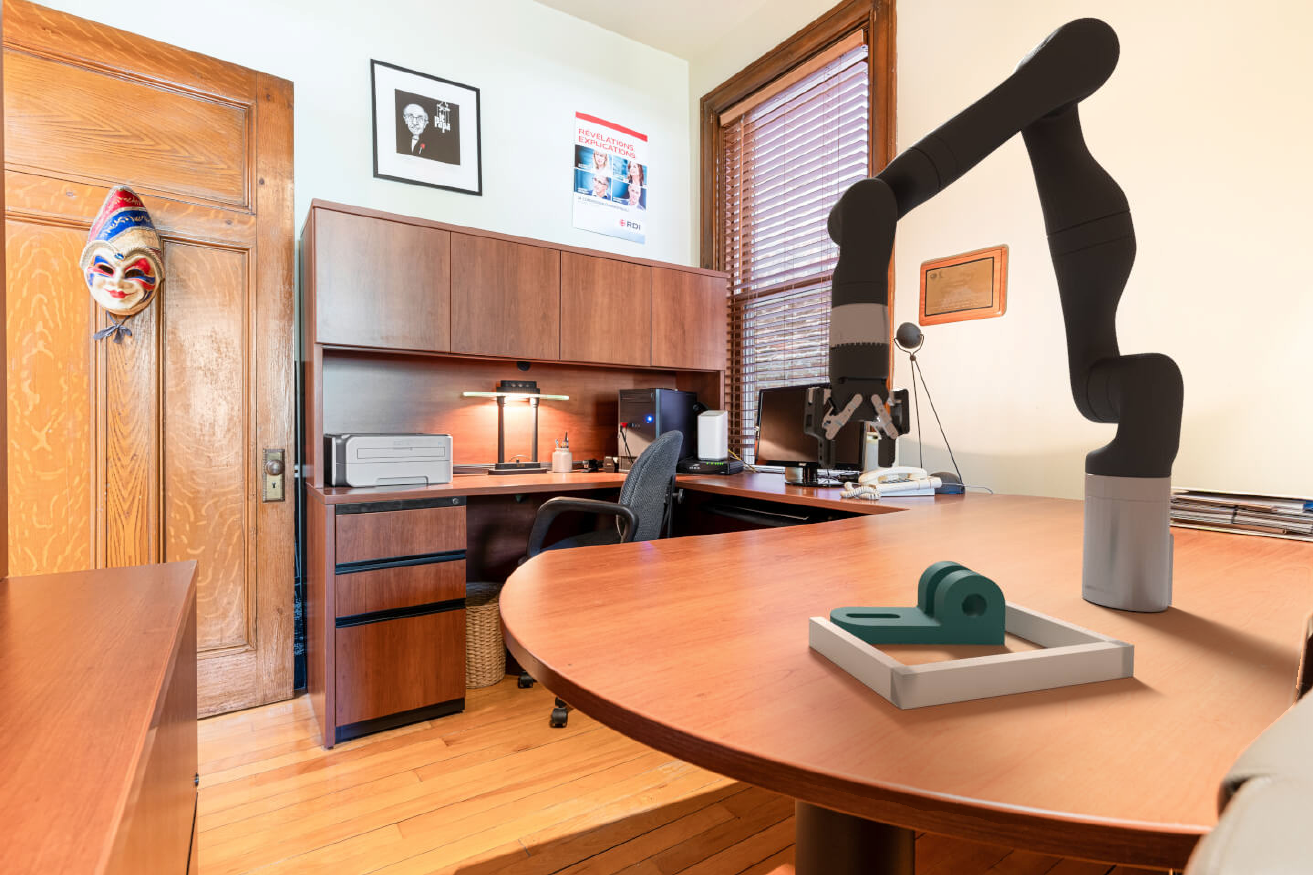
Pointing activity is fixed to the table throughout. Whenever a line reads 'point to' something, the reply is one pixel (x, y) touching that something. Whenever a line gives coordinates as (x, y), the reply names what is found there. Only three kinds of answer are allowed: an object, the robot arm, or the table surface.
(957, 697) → the white open frame
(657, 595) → the table surface
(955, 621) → the bracket
